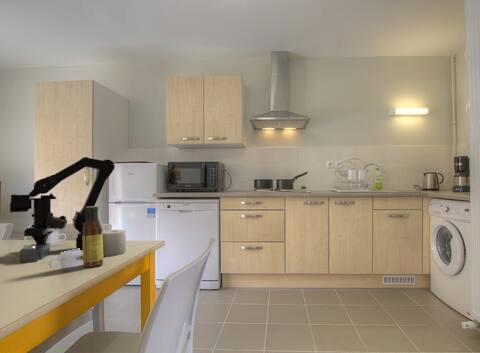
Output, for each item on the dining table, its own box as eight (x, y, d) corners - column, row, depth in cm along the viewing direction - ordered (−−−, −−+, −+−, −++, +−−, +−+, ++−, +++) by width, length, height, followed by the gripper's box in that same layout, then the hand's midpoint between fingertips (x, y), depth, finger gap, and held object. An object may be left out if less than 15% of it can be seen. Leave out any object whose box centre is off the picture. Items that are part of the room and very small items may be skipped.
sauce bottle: (107, 263, 106) (107, 206, 106) (93, 268, 100) (93, 207, 100) (92, 262, 108) (92, 205, 108) (77, 267, 102) (77, 207, 103)
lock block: (49, 253, 121) (49, 243, 121) (41, 259, 112) (41, 247, 113) (31, 254, 120) (32, 244, 120) (22, 260, 111) (22, 249, 111)
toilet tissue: (91, 259, 113) (91, 235, 113) (106, 250, 126) (106, 229, 126) (116, 258, 113) (116, 235, 113) (128, 250, 126) (128, 229, 127)
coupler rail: (49, 252, 123) (49, 239, 123) (35, 262, 109) (35, 247, 109) (35, 253, 122) (35, 240, 122) (19, 263, 108) (19, 248, 108)
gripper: (57, 212, 115) (57, 254, 115) (71, 208, 133) (71, 244, 133) (23, 213, 113) (23, 256, 112) (42, 209, 131) (42, 245, 130)
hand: (42, 250), depth 122 cm, fingers closed
